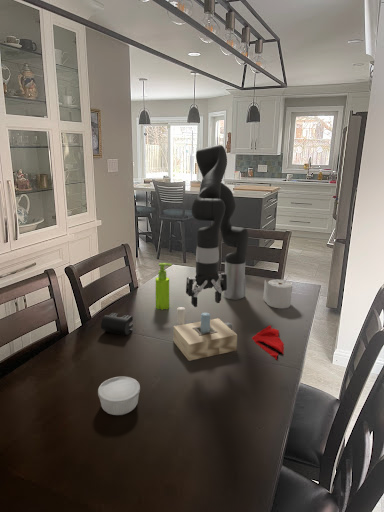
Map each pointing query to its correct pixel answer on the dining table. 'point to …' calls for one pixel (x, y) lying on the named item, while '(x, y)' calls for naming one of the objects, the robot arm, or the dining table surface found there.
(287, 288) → the toilet tissue
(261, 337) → the cloth
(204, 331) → the long pin
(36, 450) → the dining table surface
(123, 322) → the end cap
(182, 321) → the medium pin
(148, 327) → the dining table surface
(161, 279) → the soap dispenser
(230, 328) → the short pin
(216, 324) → the hole block
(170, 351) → the dining table surface
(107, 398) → the ramekin
